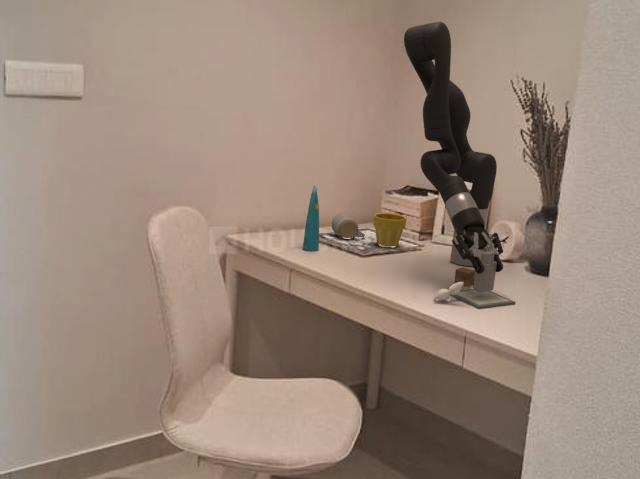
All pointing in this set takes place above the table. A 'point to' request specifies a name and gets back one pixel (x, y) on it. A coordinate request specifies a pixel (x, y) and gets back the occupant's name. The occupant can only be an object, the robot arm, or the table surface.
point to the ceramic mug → (346, 226)
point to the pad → (482, 299)
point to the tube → (312, 224)
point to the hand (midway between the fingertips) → (490, 271)
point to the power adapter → (486, 272)
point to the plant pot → (389, 228)
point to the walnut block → (465, 276)
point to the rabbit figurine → (449, 291)
